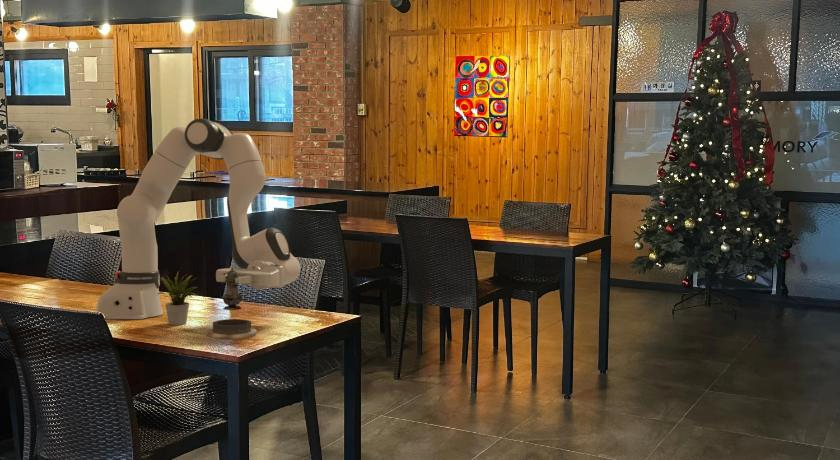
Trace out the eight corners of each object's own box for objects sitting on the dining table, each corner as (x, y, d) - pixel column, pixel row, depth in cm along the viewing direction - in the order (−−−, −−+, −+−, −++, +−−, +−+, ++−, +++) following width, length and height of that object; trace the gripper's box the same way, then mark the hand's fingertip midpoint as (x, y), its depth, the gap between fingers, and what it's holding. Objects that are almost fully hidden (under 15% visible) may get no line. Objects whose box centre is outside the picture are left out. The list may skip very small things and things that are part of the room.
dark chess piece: (238, 310, 266) (238, 268, 265) (218, 309, 267) (218, 268, 266) (245, 307, 272) (245, 266, 271) (226, 306, 273) (226, 265, 272)
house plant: (152, 329, 275) (152, 274, 274) (146, 321, 288) (145, 269, 287) (201, 326, 281) (201, 273, 280) (193, 319, 294) (192, 267, 292)
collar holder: (207, 339, 262) (207, 327, 261) (207, 330, 275) (207, 318, 275) (257, 338, 265) (257, 326, 264) (255, 329, 278) (255, 317, 278)
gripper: (233, 262, 285) (202, 266, 273) (287, 266, 275) (257, 271, 263) (233, 282, 285) (202, 288, 273) (287, 287, 275) (257, 293, 263)
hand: (230, 280), depth 268 cm, fingers closed on dark chess piece, 4 cm apart
